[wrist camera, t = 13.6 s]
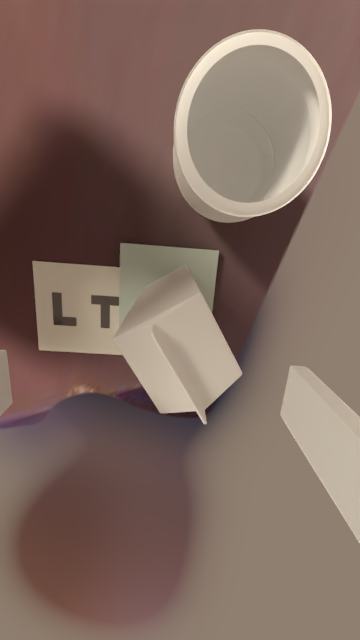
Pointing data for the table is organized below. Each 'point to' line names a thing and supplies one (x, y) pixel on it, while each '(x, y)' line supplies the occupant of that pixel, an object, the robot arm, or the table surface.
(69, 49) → the table surface
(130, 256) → the coaster
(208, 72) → the jar
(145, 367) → the milk
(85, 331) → the tile
